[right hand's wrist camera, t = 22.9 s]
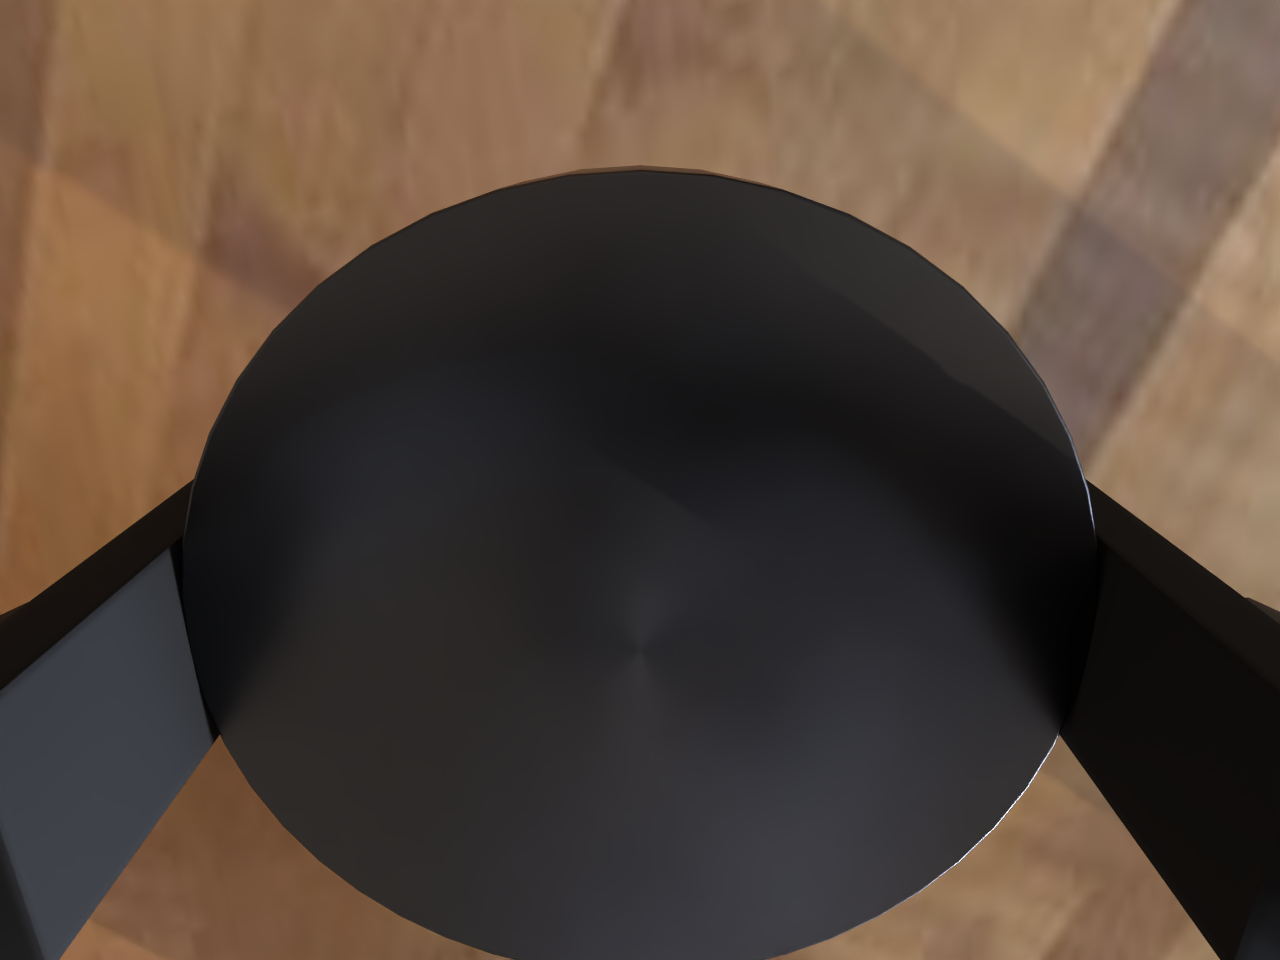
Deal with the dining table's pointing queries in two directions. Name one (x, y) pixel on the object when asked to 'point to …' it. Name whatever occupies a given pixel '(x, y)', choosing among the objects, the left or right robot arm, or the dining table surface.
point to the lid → (639, 570)
